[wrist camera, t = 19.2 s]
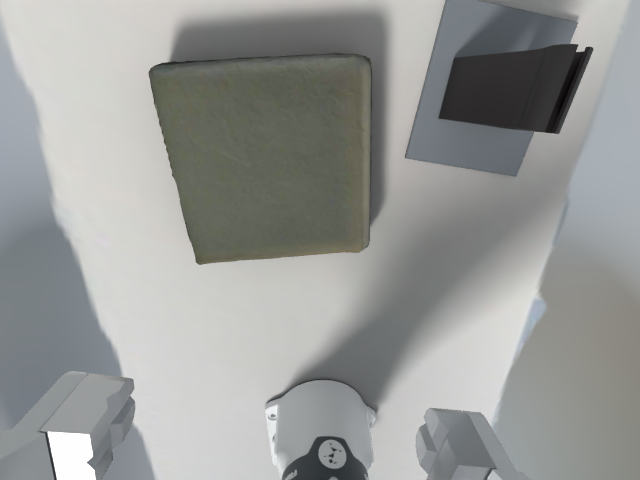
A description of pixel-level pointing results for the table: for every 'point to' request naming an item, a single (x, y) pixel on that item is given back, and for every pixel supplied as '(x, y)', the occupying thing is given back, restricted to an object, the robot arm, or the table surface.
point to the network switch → (269, 153)
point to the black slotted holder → (515, 88)
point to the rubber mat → (471, 40)
